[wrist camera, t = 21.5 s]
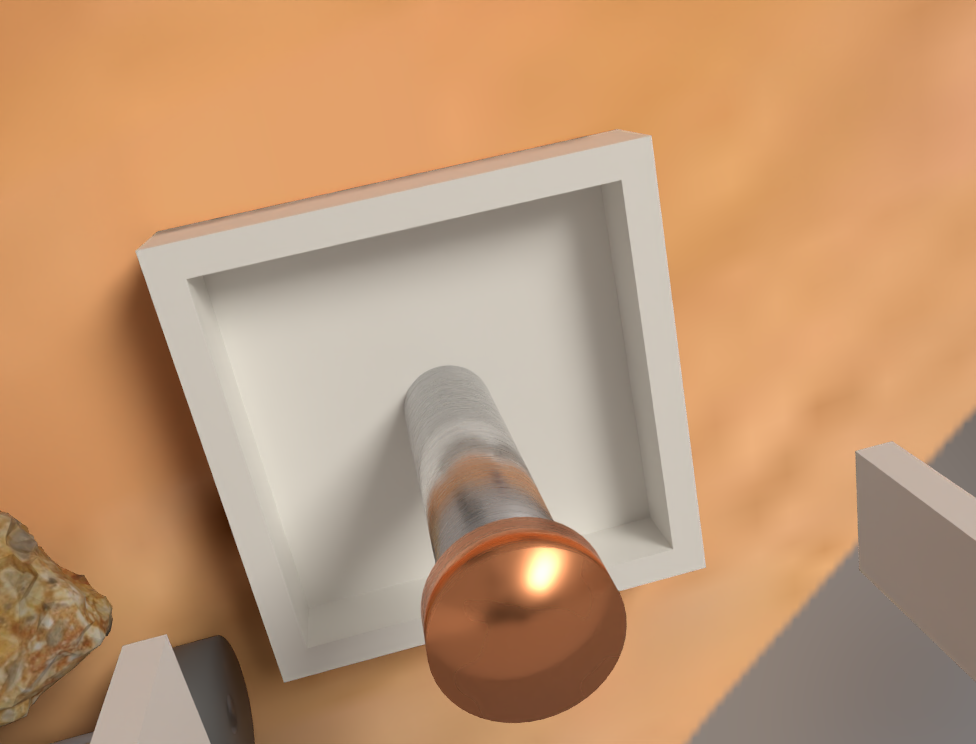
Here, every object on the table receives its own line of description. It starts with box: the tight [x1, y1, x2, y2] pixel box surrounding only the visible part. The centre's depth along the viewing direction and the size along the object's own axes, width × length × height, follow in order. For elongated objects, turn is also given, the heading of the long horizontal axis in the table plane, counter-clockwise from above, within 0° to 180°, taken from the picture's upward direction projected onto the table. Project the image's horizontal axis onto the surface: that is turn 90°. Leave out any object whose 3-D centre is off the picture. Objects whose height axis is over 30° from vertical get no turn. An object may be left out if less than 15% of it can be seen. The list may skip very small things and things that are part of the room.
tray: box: [136, 129, 706, 683], centre depth 27 cm, size 14×14×3 cm
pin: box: [404, 365, 626, 723], centre depth 22 cm, size 4×4×12 cm
